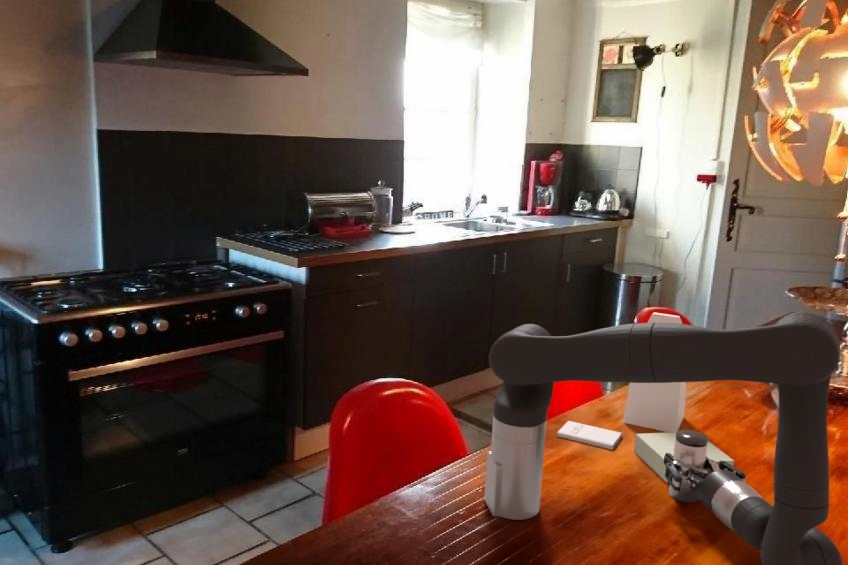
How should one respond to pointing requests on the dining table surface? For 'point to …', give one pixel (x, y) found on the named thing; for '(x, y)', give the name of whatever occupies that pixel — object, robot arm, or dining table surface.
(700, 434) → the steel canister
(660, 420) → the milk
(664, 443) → the stand
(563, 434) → the external hard drive
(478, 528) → the dining table surface
